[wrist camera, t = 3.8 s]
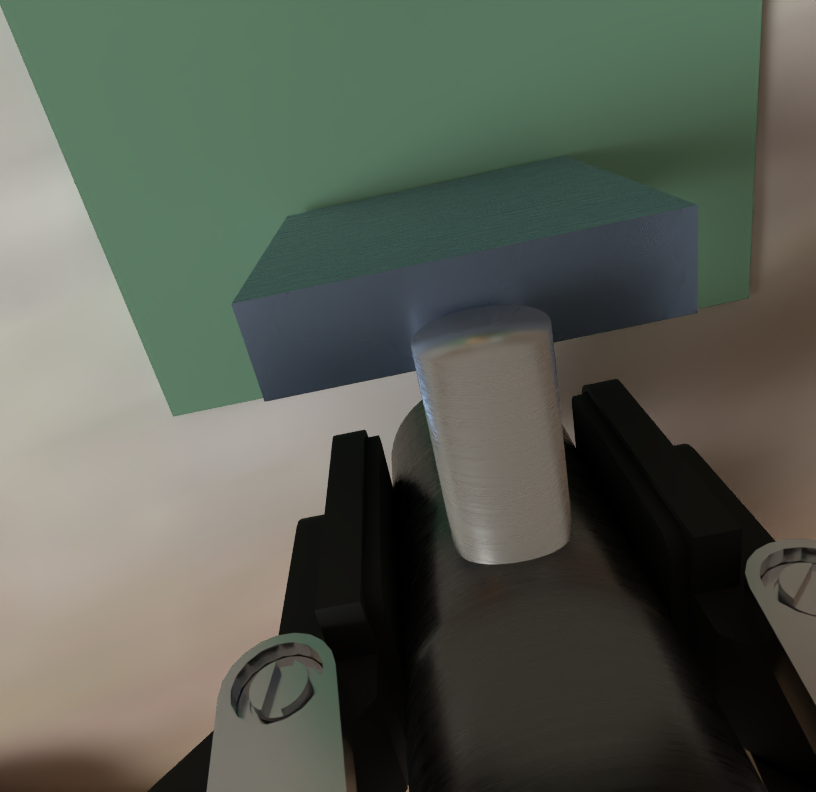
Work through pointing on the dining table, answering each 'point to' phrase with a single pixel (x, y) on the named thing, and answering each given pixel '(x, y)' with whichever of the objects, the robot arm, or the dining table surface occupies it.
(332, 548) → the robot arm
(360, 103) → the felt mat
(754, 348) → the dining table surface
